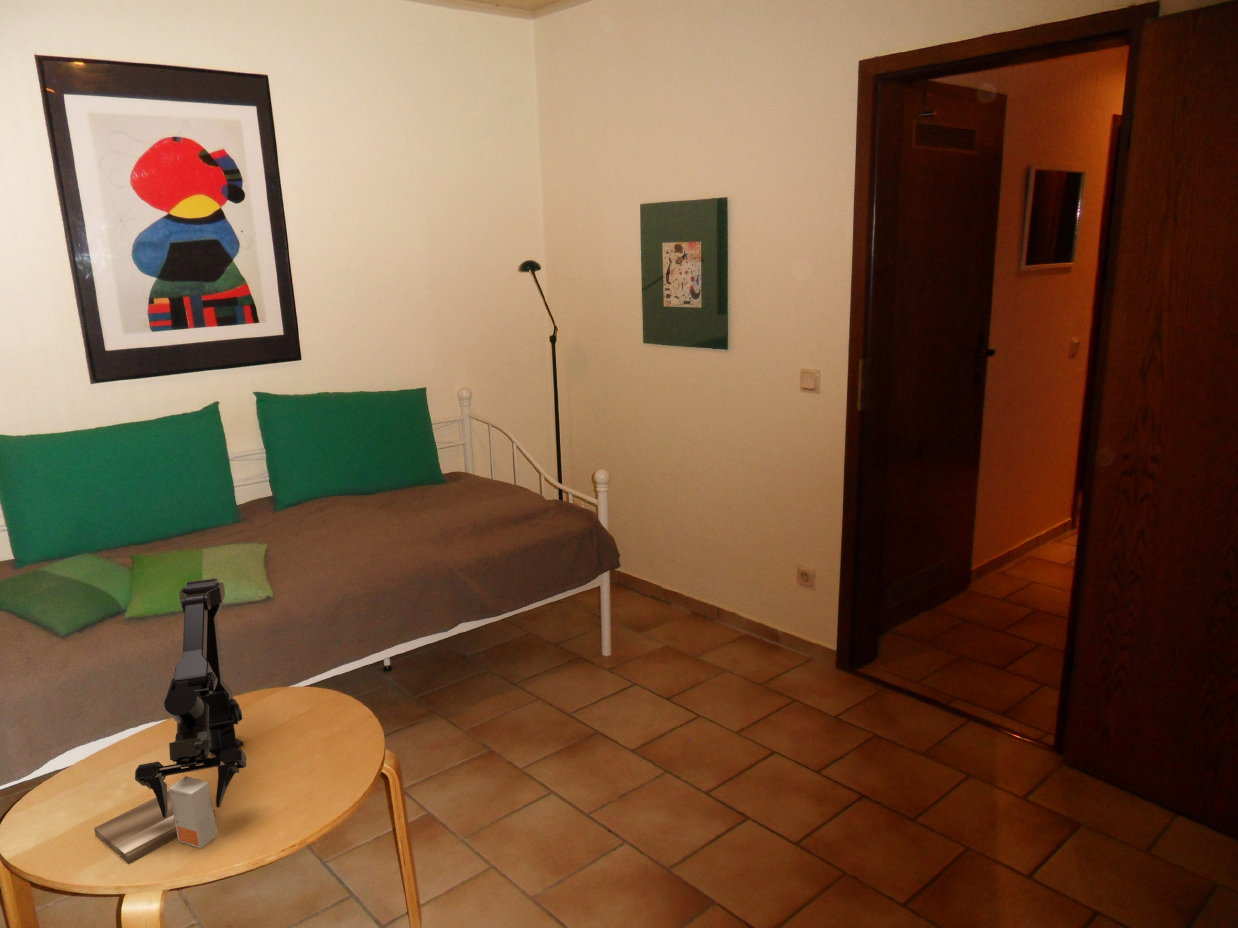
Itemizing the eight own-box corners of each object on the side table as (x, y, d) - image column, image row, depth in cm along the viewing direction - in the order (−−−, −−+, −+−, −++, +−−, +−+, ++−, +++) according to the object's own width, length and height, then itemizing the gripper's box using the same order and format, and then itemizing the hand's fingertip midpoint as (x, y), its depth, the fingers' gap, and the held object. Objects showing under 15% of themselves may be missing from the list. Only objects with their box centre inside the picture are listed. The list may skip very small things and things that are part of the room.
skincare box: (177, 842, 164) (167, 787, 161) (195, 828, 168) (186, 774, 165) (201, 849, 162) (191, 793, 159) (218, 835, 166) (209, 780, 163)
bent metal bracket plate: (95, 834, 167) (93, 826, 167) (179, 792, 180) (178, 784, 180) (129, 863, 159) (127, 855, 158) (215, 816, 171) (213, 809, 171)
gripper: (128, 727, 161) (123, 814, 153) (235, 709, 166) (236, 792, 158) (145, 743, 170) (141, 826, 162) (246, 726, 175) (247, 805, 167)
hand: (191, 812), depth 162 cm, fingers open, 9 cm apart
